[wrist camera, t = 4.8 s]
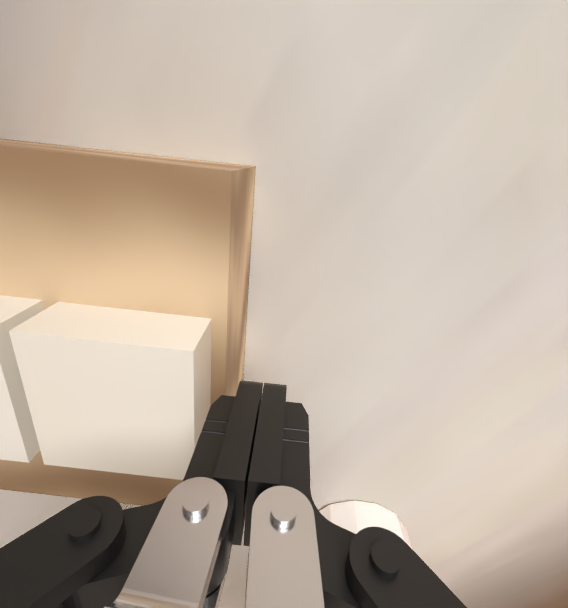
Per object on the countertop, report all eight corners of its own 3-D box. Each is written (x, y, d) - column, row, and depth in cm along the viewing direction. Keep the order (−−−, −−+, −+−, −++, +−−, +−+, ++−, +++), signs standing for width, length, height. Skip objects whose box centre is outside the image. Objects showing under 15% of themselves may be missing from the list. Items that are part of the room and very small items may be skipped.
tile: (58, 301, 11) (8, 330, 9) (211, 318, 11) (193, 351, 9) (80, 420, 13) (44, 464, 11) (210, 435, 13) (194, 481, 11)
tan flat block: (-38, 134, 14) (-209, 123, 9) (255, 166, 14) (231, 171, 9) (32, 406, 19) (-52, 483, 15) (239, 429, 19) (220, 514, 15)
